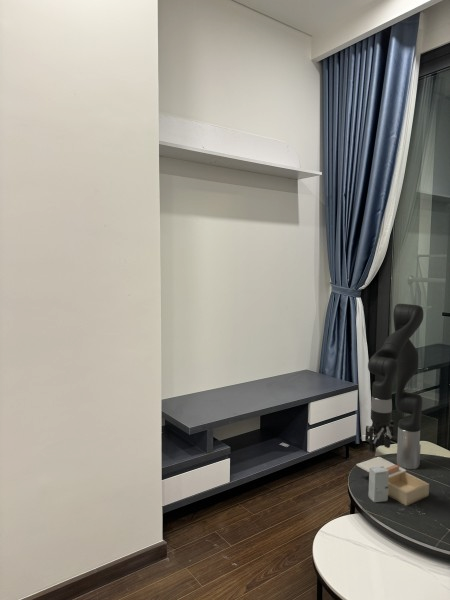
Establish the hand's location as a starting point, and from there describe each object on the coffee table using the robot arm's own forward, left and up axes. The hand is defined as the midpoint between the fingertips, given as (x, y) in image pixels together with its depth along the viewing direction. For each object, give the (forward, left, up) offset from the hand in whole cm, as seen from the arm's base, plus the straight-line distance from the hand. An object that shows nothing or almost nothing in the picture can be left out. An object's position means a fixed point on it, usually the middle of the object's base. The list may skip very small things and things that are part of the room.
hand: (379, 449), depth 164 cm
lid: (-12, -9, -15) cm, 21 cm away
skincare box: (0, 0, -20) cm, 20 cm away
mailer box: (-12, +2, -20) cm, 23 cm away
